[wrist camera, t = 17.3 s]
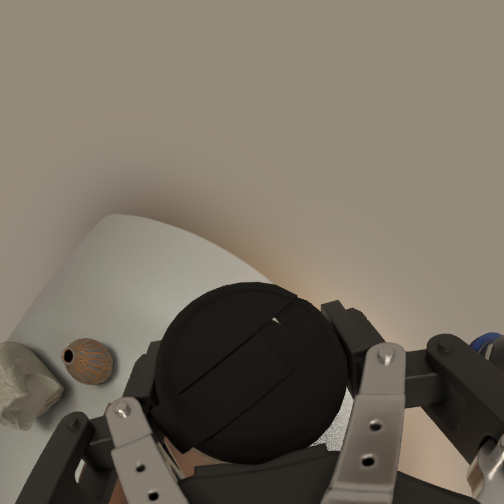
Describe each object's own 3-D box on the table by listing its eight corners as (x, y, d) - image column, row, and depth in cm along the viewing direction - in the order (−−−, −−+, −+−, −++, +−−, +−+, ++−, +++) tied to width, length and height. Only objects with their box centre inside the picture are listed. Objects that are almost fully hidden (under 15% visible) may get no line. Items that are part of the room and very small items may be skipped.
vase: (96, 335, 43) (64, 321, 35) (127, 359, 41) (95, 348, 33) (78, 370, 40) (43, 361, 33) (107, 395, 38) (73, 391, 31)
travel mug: (222, 385, 27) (107, 357, 9) (275, 341, 28) (258, 234, 10) (266, 434, 24) (227, 511, 6) (320, 387, 26) (396, 368, 8)
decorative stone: (29, 335, 44) (-29, 309, 30) (84, 392, 39) (18, 381, 25) (7, 383, 39) (-51, 368, 26) (58, 445, 34) (-6, 446, 21)
